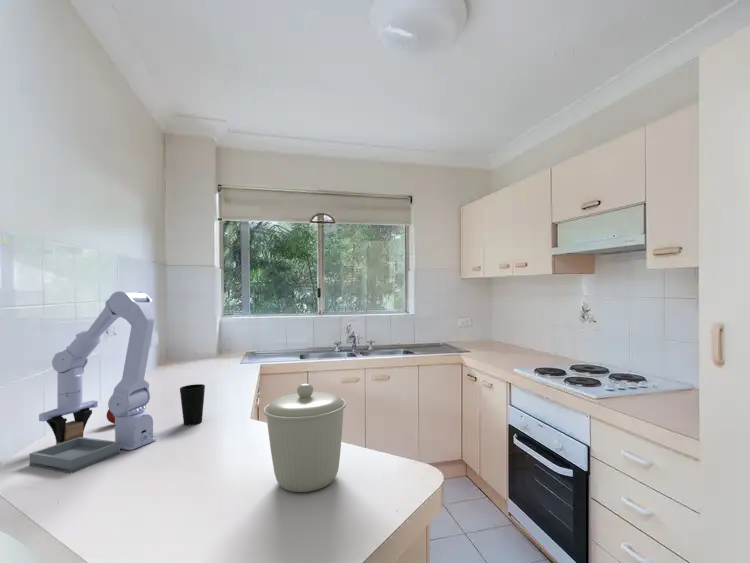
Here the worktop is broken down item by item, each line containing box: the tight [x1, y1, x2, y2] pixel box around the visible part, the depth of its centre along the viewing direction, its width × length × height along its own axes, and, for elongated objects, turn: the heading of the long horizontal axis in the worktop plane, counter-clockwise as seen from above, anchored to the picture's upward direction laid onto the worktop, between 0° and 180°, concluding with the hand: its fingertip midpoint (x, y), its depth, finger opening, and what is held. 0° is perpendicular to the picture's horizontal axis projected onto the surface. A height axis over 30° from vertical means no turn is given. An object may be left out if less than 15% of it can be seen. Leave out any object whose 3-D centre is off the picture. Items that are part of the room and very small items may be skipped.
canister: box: [262, 383, 347, 493], centre depth 83 cm, size 18×18×21 cm
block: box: [55, 420, 84, 445], centre depth 111 cm, size 4×4×6 cm
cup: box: [179, 383, 206, 426], centre depth 127 cm, size 8×8×12 cm
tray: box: [29, 436, 121, 474], centre depth 99 cm, size 16×12×3 cm
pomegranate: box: [105, 409, 115, 425], centre depth 128 cm, size 6×6×8 cm
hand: (69, 438), depth 111 cm, fingers closed on block, 4 cm apart
